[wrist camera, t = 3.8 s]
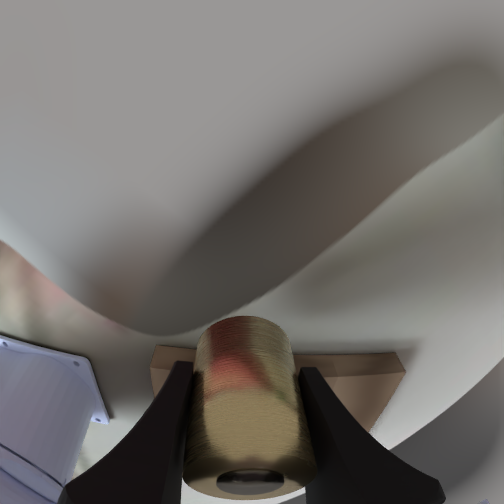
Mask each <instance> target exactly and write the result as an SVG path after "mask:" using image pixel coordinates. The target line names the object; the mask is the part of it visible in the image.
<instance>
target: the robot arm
mask: <svg viewBox="0 0 504 504" xmlns="http://www.w3.org/2000/svg"><path fill="white" fill-rule="evenodd" d="M298 381H299V386H300V390H301V395H302V400H303V404H304V409H305V413H306V418H307V423H308V428H309V432H310V437H311V442H312V447H313V451H314V456H315V461H316V466H317V475H316V477H315V478H314V480H313V481H312V482H310V483H309V484H308V485H306V486H305V490H306V503H307V504H442V503H444V502H445V500H446V497H445V494H444V492H443V489H442V487H441V485H440V483H439V481H438V480H437V479H435V478H433V477H430V476H428V475H426V474H424V473H422V472H420V471H419V470H417V469H415V468H413V467H412V466H410V465H409V464H407V463H405V462H404V461H402V460H401V459H399V458H398V457H397V456H395V455H394V454H393V453H391V452H390V451H389V450H387V449H386V448H385V447H384V446H382V445H381V444H380V443H379V442H378V441H377V440H376V439H374V438H373V437H372V436H371V435H370V434H369V433H368V432H367V431H366V430H365V429H364V428H363V427H362V426H361V425H360V424H359V422H358V421H357V420H356V419H355V418H354V417H353V416H352V415H351V413H350V412H349V411H348V410H347V408H346V407H345V406H344V405H343V403H342V402H341V401H340V400H339V398H338V397H337V396H336V394H335V393H334V392H333V390H332V389H331V387H330V386H329V385H328V383H327V382H326V380H325V379H324V377H323V376H322V374H321V373H320V371H319V370H318V369H317V368H316V367H301V368H300V371H299V375H298ZM192 382H193V362H189V361H179V360H177V361H175V362H174V364H173V367H172V369H171V371H170V373H169V375H168V377H167V379H166V381H165V382H164V384H163V386H162V388H161V389H160V391H159V392H158V394H157V396H156V397H155V399H154V400H153V402H152V403H151V405H150V406H149V407H148V409H147V410H146V411H145V413H144V414H143V416H142V417H141V418H140V420H139V421H138V422H137V423H136V425H135V426H134V427H133V428H132V429H131V430H130V431H129V433H128V434H127V435H126V436H125V437H124V438H123V439H122V440H121V441H120V442H119V443H118V444H117V445H116V446H115V447H114V448H113V449H112V450H111V451H110V452H109V453H108V454H107V455H105V456H104V457H103V458H102V459H101V460H99V461H98V462H97V463H96V464H94V465H93V466H92V467H91V468H89V469H88V470H87V471H85V472H84V473H82V474H81V475H79V476H78V477H76V478H75V479H73V480H72V481H71V479H72V476H73V472H74V469H75V466H76V463H77V459H78V456H79V453H80V450H81V447H82V444H83V441H84V438H85V435H86V432H87V429H88V426H89V423H90V421H94V422H98V423H102V424H109V422H110V419H109V416H108V414H107V411H106V408H105V406H104V403H103V400H102V397H101V394H100V392H99V389H98V386H97V383H96V380H95V377H94V373H93V370H92V367H91V364H90V362H89V360H88V359H86V358H85V357H81V356H76V355H72V354H67V353H63V352H59V351H55V350H51V349H47V348H43V347H39V346H35V345H32V344H28V343H25V342H21V341H18V340H14V339H11V338H8V337H5V336H1V335H0V504H181V485H182V472H183V463H184V452H185V443H186V433H187V424H188V415H189V406H190V398H191V390H192ZM478 504H489V502H488V500H487V499H485V500H483V501H481V502H480V503H478Z"/></svg>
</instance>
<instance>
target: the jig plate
mask: <svg viewBox="0 0 504 504" xmlns="http://www.w3.org/2000/svg"><path fill="white" fill-rule="evenodd" d="M196 351H197V349H187V348H178V347H169V346H160V345H156V347H155V351H154V354H153V357H152V361H151V364H150V374H151V380H152V386H153V393H154V398H155V397H156V396H157V394H158V392H159V391H160V389H161V388H162V386H163V384H164V382H165V381H166V379H167V377H168V375H169V373H170V371H171V369H172V367H173V364H174V362H175V361H177V360H179V361H189V362H193V373H194V366H195V358H196ZM293 358H294V363H295V368H296V372H297V377H298V375H299V371H300V368H301V367H316V368H317V369H318V370H319V371H320V373H321V374H322V376H323V377H324V379H325V380H326V382H327V383H328V385H329V386H330V387H331V389H332V390H333V392H334V393H335V394H336V396H337V397H338V398H339V400H340V401H341V402H342V403H343V405H344V406H345V407H346V408H347V410H348V411H349V412H350V413H351V415H352V416H353V417H354V418H355V419H356V420H357V421H358V422H359V424H360V425H361V426H362V427H363V428H364V429H365V430H366V431H367V432H369V431H370V429H371V428H372V426H373V425H374V423H375V422H376V420H377V419H378V417H379V416H380V414H381V413H382V411H383V410H384V408H385V407H386V405H387V403H388V402H389V400H390V399H391V397H392V395H393V394H394V392H395V390H396V389H397V387H398V385H399V383H400V382H401V380H402V378H403V376H404V375H405V373H406V371H405V369H404V367H403V365H402V364H401V362H400V360H399V358H398V356H397V355H396V353H379V354H354V355H293ZM182 474H183V472H182ZM182 478H183V477H182Z"/></svg>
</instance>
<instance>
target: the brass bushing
mask: <svg viewBox="0 0 504 504" xmlns="http://www.w3.org/2000/svg"><path fill="white" fill-rule="evenodd" d="M316 475H317V466H316V461H315V456H314V451H313V447H312V442H311V437H310V432H309V428H308V423H307V418H306V413H305V409H304V404H303V400H302V395H301V390H300V386H299V381H298V377H297V372H296V368H295V363H294V358H293V354H292V350H291V345H290V341H289V339H288V337H287V335H286V333H285V332H284V331H283V330H282V329H281V328H280V327H279V326H277V325H276V324H274V323H273V322H271V321H269V320H266V319H263V318H259V317H254V316H235V317H230V318H226V319H223V320H221V321H218V322H216V323H215V324H213V325H211V326H210V327H209V328H207V329H206V330H205V332H204V333H203V334H202V335H201V337H200V339H199V341H198V344H197V351H196V358H195V366H194V373H193V382H192V390H191V398H190V406H189V415H188V424H187V433H186V443H185V452H184V463H183V474H182V477H183V480H184V482H185V483H186V484H187V485H188V486H189V487H191V488H192V489H194V490H196V491H198V492H201V493H203V494H206V495H209V496H213V497H218V498H223V499H232V500H258V499H267V498H273V497H278V496H282V495H285V494H289V493H291V492H294V491H297V490H299V489H301V488H303V487H305V486H306V485H308V484H309V483H310V482H312V481H313V480H314V478H315V477H316Z"/></svg>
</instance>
